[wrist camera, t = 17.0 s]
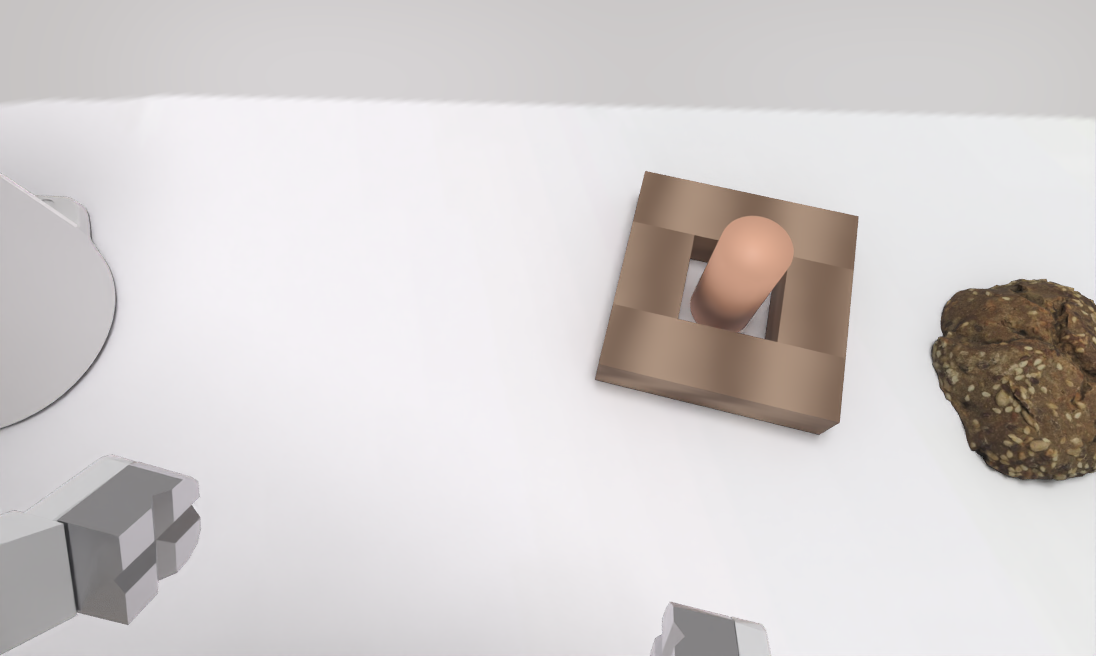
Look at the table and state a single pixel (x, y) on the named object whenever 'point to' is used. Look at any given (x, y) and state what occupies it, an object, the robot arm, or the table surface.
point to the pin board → (719, 355)
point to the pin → (741, 273)
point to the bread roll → (1023, 376)
